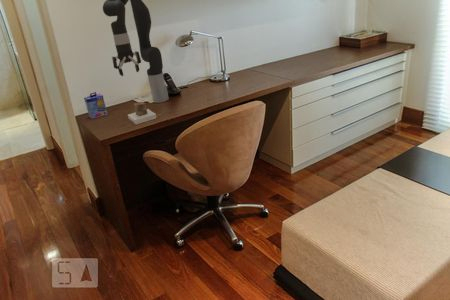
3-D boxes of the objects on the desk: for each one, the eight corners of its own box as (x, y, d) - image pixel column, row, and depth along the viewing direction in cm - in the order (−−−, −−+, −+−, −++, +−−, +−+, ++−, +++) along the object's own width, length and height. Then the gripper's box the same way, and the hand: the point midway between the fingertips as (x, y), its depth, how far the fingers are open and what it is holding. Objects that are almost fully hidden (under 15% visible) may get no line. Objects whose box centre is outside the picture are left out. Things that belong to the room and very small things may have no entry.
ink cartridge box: (92, 119, 208) (84, 95, 202) (89, 117, 212) (81, 93, 206) (108, 114, 213) (101, 90, 207) (105, 112, 217) (98, 89, 211)
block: (144, 111, 202) (142, 101, 199) (147, 113, 198) (145, 103, 195) (135, 114, 200) (133, 103, 197) (138, 116, 196) (136, 105, 193)
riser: (148, 112, 207) (147, 108, 206) (156, 118, 198) (155, 113, 197) (128, 118, 202) (127, 114, 201) (135, 124, 193) (134, 119, 191)
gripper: (133, 39, 189) (140, 69, 197) (106, 44, 183) (114, 75, 191) (138, 40, 184) (145, 71, 191) (111, 46, 177) (119, 78, 185)
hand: (130, 73), depth 191 cm, fingers open, 8 cm apart
